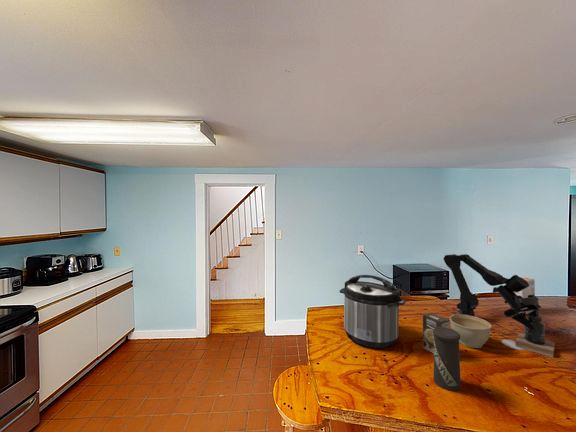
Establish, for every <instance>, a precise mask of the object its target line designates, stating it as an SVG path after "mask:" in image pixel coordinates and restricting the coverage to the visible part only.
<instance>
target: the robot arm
mask: <svg viewBox="0 0 576 432" xmlns="http://www.w3.org/2000/svg"><path fill="white" fill-rule="evenodd" d="M443 262H444V263H445V265H446V266H447V267H448V268H449V269H450V270H451V273H452V275H453V279H454V280H455V283H456V285H457V287H458V290H459V301H460V302H459V303H457V304H456V308H457V309H458V310H459V314H458V315H468V316H473V317H476V316H475V315H476V314H475V310H476V309H477V307H478V306H479V303H480V302H479V301H480V300H479V299H478V297H477V294H476V293H472V292H471V290H470V289H469V285H468V283H467V281H466V279H465V276H464V275H463V271H462V269H461V264H462V263H461V262H463V263H464V264H466V265H467V266H468V267H469V268H470V269H472V270H473V271H475V273H477V274H478V275H480V276H481V278H482V280H483V281H484V282H485V283H486V284H487V285H488V286H491V287H493V288H492V289H493V290H492V293H493V294H494V293H496V294H497V293H498V295H500V296H501V298H502V299H503V300H504V301H503V302H504V304H507V305H508V306H509V308H508V309H506V310H504V311H503V315H504V316H505V317H506V319H507V318H511V319H512V320H514V321H517V323H520V324H522V325H523V326H524V325H525V326H527V327H528V328H530V329H532V330H533V329H534V327H533V326H532V324H531V323H530V322H529V321H528V319H527V314H535V315H539V312H540V309H542V306H540V304H539V303H540V302H539V300H540V298H538V297H537V296H536V294H535V295H528V297H527V298H522V297H521V296H517V295H516V294H515V292H520V291H522V290H523V289H525V288H527V287H529V284H528V282H527V281H526V280H524V279H523V278H524V277H520V276H518V274H514V275H512V276H511V277H510V278H508V277H507V278H506V277H504V276H503V275H501V274H500V273H497V272H496V271H493V270H491V269H488V268H487V267H485V266H484V265H483V264H481V262H478V261H477V260H476V259H474V258H473V257H471V256H470V254H467V253H465V254H464V253H463V254H458V255H457V254H454V253H453V254H445V255H444V256H443ZM522 312H523V313H522ZM525 313H527V314H525Z"/></svg>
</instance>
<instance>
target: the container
mask: <svg viewBox="0 0 576 432" xmlns="http://www.w3.org/2000/svg"><path fill="white" fill-rule="evenodd" d="M433 334H434V354H433V381H434V383H435V384H436V385H437V386H439V387H440V388H441V389H445V390H448V391H452V392H453V391H454V392H455V391H459V390H460V389H461V387H462V386H461V383H462V382H461V364H460V363H461V359H460V342H459V340H460V334H459V333H458V332H457V331H455V330H453V329H452V328H451V327H450V328H446V327H436V328H434V329H433Z"/></svg>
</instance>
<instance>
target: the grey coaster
mask: <svg viewBox="0 0 576 432" xmlns="http://www.w3.org/2000/svg"><path fill="white" fill-rule="evenodd" d="M515 341H516V340H512V339H502V340H501V343H502V344H503V345H504V346H507V347H509V348H511V349H514V350H519V351H527V350H526V349H523V348H519V347H516V344H515Z"/></svg>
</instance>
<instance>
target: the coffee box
mask: <svg viewBox="0 0 576 432" xmlns="http://www.w3.org/2000/svg"><path fill="white" fill-rule="evenodd" d="M436 327H446V328H450V329H451V322H450V318H449V319H448V318H447V317H443V316H441V315H439V314H437V313H434V312H428V313H427V312H426V313H423V314H422V348H423V349H424V350H426V351H427V352H429V351H430V353H431V352H432V353H431V354H433V355H434V334H433V329H434V328H436Z"/></svg>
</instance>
